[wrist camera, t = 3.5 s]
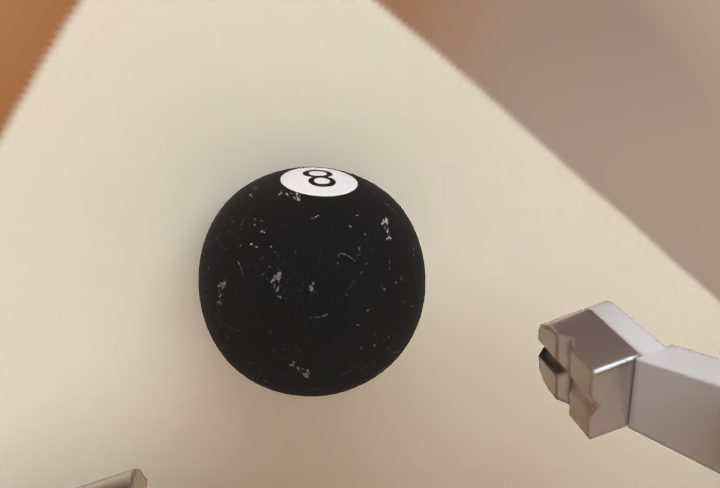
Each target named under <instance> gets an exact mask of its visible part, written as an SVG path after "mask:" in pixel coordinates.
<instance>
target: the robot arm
mask: <svg viewBox="0 0 720 488" xmlns="http://www.w3.org/2000/svg"><path fill="white" fill-rule="evenodd" d="M538 340H539V341H540V342H541V343H542V344H543V345H544V346H545V347H544V348H543V350H542V351H541V353H540V355H539V369H540V371H541V374H542V377H543V380H544V382H545V384H546V386H547V387H548V389H549V391H550V392H551V393H552V394H553V396H554V397H555V398H556V399H558V400H560V401H563V402H565V403H568V404H569V415H570V416H571V417H572V419H573V420H574V421H575V422H576V423H577V425H578V426H579V427H580V428H581V429H582V431H583V432H584V433H585V434H586V435H587V437H588V438H589V439H592V438H595V437H597V436H600V435H603V434H606V433H608V432H611V431H614V430H617V429H619V428H622V427H625V426H628V425H629V426H628V428H630V429H632V430H634V431H636V432H638V433H640V434H642V435H644V436H646V437H648V438H650V439H652V440H654V441H656V442H658V443H660V444H662V445H664V446H666V447H668V448H670V449H672V450H674V451H676V452H678V453H680V454H682V455H684V456H686V457H688V458H690V459H692V460H694V461H696V462H698V463H700V464H702V465H704V466H706V467H708V468H710V469H712V470H713V471H715V472H717V473H719V474H720V359H719V358H716V357H712V356H709V355H705V354H702V353H699V352H695V351H692V350H688V349H685V348H681V347H678V346H675V345H671V346H668V347H665V346H664V345H663V344H662V343H661V342H659V341H658V340H657V339H656V338H654V337H653V336H652V335H651V334H650V333H648V332H647V331H646V330H645V329H644V328H642V327H641V326H640V325H639V324H638V323H636V322H635V321H634V320H633V319H632V318H630V317H629V316H628V315H627V314H626V313H624V312H623V311H622V310H621V309H620V308H618V307H617V306H616V305H615V304H614V303H612V302H609V301H604V302H602V303H599V304H596V305H593V306H591V307H588V308H585V309H584V310H579V311H577V312H574V313H571V314H569V315H566V316H563V317H560V318H558V319H555V320H552V321H549V322H547V323H544V324H541V326H540V328H539V335H538ZM80 488H147V479H146V478H145V476H144V475H143V473H142V472H141V470H140V469H133V470H130V471H127V472H124V473H121V474H117V475H114V476H111V477H108V478H105V479H102V480H99V481H96V482H93V483H90V484H87V485H84V486H81V487H80Z"/></svg>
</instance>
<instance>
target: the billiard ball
mask: <svg viewBox="0 0 720 488" xmlns="http://www.w3.org/2000/svg"><path fill="white" fill-rule="evenodd" d="M199 296H200V302H201V308H202V313H203V316H204V319H205V322H206V325H207V328H208V330H209V333H210V335H211V337H212V339H213V341H214V343H215V344H216V346H217V347H218V349H219V350H220V352H221V353H222V355H223V356H224V357H225V358H226V360H227V361H228V362H229V363H230V364H231V365H232V366H233V367H234V368H235V369H236V370H237V371H239V372H240V373H241V374H243V375H244V376H245V377H247V378H248V379H250V380H251V381H253V382H255V383H257V384H259V385H261V386H263V387H265V388H268V389H271V390H273V391H277V392H281V393H285V394H290V395H298V396H326V395H331V394H337V393H340V392H344V391H347V390H350V389H352V388H355V387H357V386H359V385H361V384H364V383H366V382H368V381H369V380H371V379H373V378H374V377H376V376H377V375H379V374H380V373H382V372H383V371H384V370H385V369H386V368H388V367H389V366H390V365H391V364H392V363H393V362H394V361H395V360H396V359H397V358H398V356H399V355H400V354H401V353H402V351H403V350H404V349H405V347H406V346H407V344H408V343H409V341H410V339H411V338H412V336H413V334H414V331H415V329H416V327H417V325H418V322H419V319H420V316H421V312H422V308H423V303H424V297H425V267H424V260H423V254H422V250H421V247H420V243H419V240H418V237H417V235H416V232H415V230H414V228H413V226H412V223H411V222H410V220H409V218H408V217H407V215H406V214H405V212H404V211H403V209H402V208H401V207H400V206H399V204H398V203H397V202H396V201H395V200H394V199H393V198H392V197H391V196H390V195H389V194H387V193H386V192H385V191H383V190H382V189H380V188H379V187H378V186H376V185H375V184H373V183H371V182H369V181H367V180H365V179H363V178H361V177H359V176H356V175H354V174H351V173H347V172H344V171H340V170H335V169H330V168H322V167H299V168H292V169H286V170H282V171H278V172H275V173H272V174H269V175H266V176H264V177H261V178H259V179H257V180H255V181H253V182H251V183H250V184H248V185H246V186H245V187H244V188H242V189H241V190H239V191H238V192H237V193H236V194H234V195H233V196H232V197H231V198H230V199H229V200H228V201H227V202H226V203H225V205H224V206H223V207H222V209H221V210H220V211H219V213H218V214H217V216H216V217H215V219H214V221H213V222H212V224H211V226H210V229H209V231H208V233H207V236H206V239H205V242H204V244H203V248H202V253H201V258H200V265H199Z"/></svg>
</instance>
